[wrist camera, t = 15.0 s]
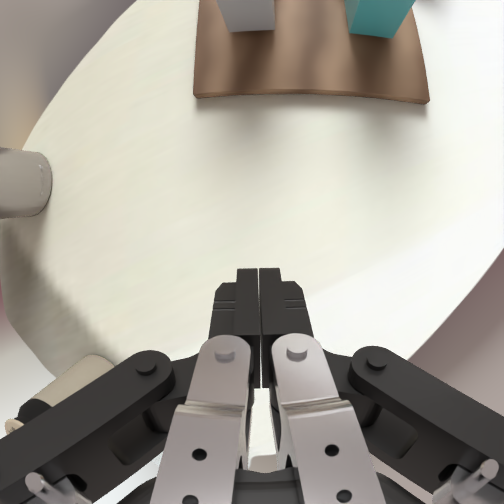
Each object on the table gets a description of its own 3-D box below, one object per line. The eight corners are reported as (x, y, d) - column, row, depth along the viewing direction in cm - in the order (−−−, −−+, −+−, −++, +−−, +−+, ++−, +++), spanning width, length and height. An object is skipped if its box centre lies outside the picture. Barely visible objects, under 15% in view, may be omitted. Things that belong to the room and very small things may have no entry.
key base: (196, 98, 32) (184, 85, 28) (204, -17, 30) (195, -36, 25) (425, 104, 29) (440, 93, 25) (401, -12, 27) (410, -30, 22)
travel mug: (76, 349, 39) (-7, 408, 22) (121, 358, 38) (41, 433, 21) (86, 394, 41) (18, 460, 23) (130, 405, 40) (66, 485, 22)
